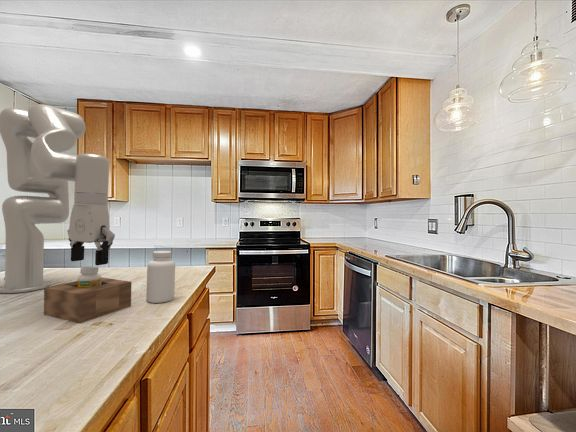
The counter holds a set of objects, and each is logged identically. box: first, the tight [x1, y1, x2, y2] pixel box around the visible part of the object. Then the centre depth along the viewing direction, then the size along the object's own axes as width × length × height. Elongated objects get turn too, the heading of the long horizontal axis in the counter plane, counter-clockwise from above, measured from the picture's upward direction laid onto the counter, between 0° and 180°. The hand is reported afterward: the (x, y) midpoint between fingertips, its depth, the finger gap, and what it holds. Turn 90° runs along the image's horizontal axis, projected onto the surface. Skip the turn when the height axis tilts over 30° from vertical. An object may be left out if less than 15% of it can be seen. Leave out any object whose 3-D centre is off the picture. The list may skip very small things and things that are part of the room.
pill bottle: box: [145, 250, 176, 304], centre depth 87 cm, size 8×8×15 cm
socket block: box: [43, 276, 132, 324], centre depth 76 cm, size 14×14×7 cm
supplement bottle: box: [76, 265, 102, 289], centre depth 76 cm, size 5×5×10 cm
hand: (89, 262), depth 77 cm, fingers open, 9 cm apart
